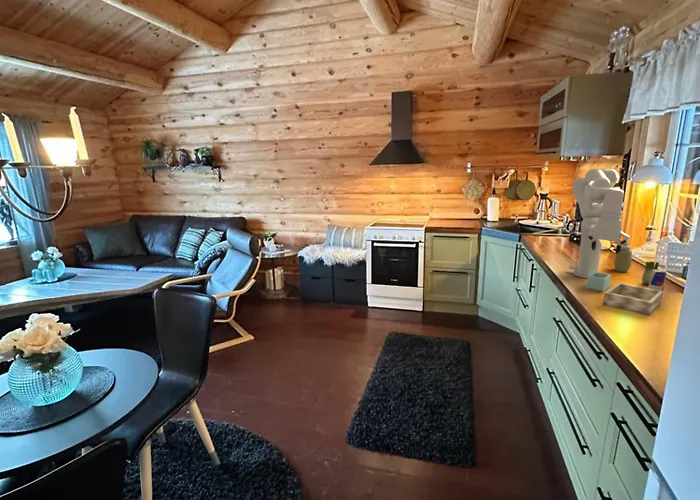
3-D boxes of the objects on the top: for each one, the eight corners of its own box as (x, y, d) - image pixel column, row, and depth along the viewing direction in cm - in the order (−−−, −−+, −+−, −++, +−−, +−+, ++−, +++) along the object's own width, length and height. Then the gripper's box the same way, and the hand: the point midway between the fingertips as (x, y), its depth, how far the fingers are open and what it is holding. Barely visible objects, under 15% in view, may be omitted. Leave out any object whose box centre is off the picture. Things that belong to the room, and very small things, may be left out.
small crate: (586, 288, 186) (588, 275, 184) (593, 284, 192) (595, 271, 191) (602, 292, 181) (604, 278, 179) (609, 287, 187) (611, 274, 186)
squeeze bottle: (630, 273, 209) (636, 241, 205) (612, 271, 213) (617, 240, 209) (629, 270, 216) (634, 239, 212) (612, 268, 220) (617, 237, 216)
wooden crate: (602, 304, 165) (604, 292, 164) (617, 293, 178) (618, 282, 177) (649, 315, 153) (651, 302, 152) (661, 303, 166) (663, 291, 165)
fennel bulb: (655, 284, 192) (659, 261, 189) (655, 286, 188) (660, 263, 185) (640, 282, 195) (644, 259, 192) (641, 284, 191) (645, 261, 188)
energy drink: (658, 298, 172) (663, 273, 169) (644, 294, 177) (649, 270, 174) (664, 296, 174) (669, 271, 172) (650, 293, 179) (655, 268, 176)
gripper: (587, 214, 182) (582, 249, 186) (630, 218, 169) (624, 256, 173) (592, 213, 187) (587, 247, 191) (635, 217, 174) (628, 253, 178)
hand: (605, 251), depth 182 cm, fingers open, 9 cm apart
